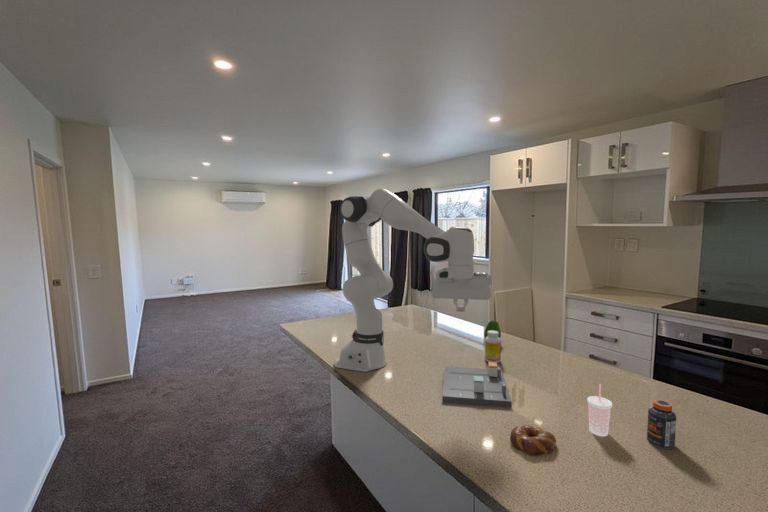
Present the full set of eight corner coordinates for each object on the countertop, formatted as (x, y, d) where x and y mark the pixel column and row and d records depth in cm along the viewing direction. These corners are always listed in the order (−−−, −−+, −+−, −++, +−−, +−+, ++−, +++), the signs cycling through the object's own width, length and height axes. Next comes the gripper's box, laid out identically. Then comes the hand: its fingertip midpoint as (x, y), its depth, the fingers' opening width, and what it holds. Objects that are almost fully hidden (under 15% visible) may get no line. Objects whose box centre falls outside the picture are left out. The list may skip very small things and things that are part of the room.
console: (442, 401, 120) (442, 387, 119) (445, 371, 145) (445, 359, 145) (511, 407, 115) (511, 392, 115) (501, 374, 141) (501, 362, 140)
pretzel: (545, 432, 101) (545, 420, 101) (565, 457, 90) (565, 443, 90) (503, 433, 101) (503, 420, 101) (518, 458, 90) (518, 444, 90)
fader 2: (489, 376, 134) (489, 365, 133) (488, 372, 138) (488, 361, 137) (497, 376, 133) (497, 366, 133) (496, 372, 137) (496, 362, 137)
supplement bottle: (501, 364, 152) (501, 334, 151) (485, 363, 153) (485, 333, 152) (499, 358, 158) (500, 329, 157) (484, 357, 160) (484, 329, 159)
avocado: (504, 344, 177) (504, 320, 176) (493, 347, 172) (493, 323, 171) (491, 340, 183) (491, 317, 182) (480, 343, 179) (480, 319, 178)
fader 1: (474, 391, 121) (474, 380, 121) (473, 386, 125) (473, 375, 125) (483, 392, 121) (483, 381, 120) (482, 387, 125) (482, 376, 124)
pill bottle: (641, 437, 98) (642, 397, 97) (661, 436, 99) (663, 396, 98) (659, 450, 92) (661, 408, 91) (681, 449, 93) (683, 407, 92)
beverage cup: (601, 440, 97) (603, 390, 96) (581, 428, 103) (582, 381, 102) (616, 434, 99) (618, 386, 98) (595, 423, 105) (597, 377, 104)
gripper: (490, 271, 127) (490, 310, 128) (432, 271, 131) (432, 308, 132) (492, 274, 121) (491, 314, 122) (431, 273, 125) (431, 312, 126)
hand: (460, 311), depth 127 cm, fingers closed
